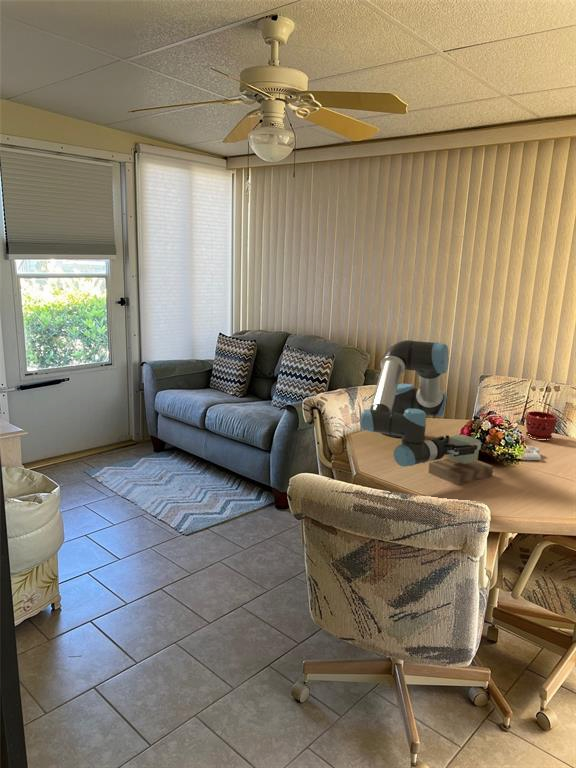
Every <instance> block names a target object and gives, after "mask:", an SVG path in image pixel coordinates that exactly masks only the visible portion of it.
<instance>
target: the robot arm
mask: <svg viewBox="0 0 576 768" xmlns="http://www.w3.org/2000/svg"><path fill="white" fill-rule="evenodd" d="M449 355H450V354H449V347H448V345H447V344H445V343H440V342H431V341H430V342H429V341H428V342H427V341H419V340H410V339H406V340H401V341H399V342H396V343H395V344H393V345H392V346H391V347H389V348H388V349H387V350H386V351H385V353H384V354H383V356H382V358H381V360H380V373H379V377H378V380H377V384H376V388H375V389H374V394H373V396H372V397H373V398H372V402H371V405H370V408H368V409H367V408H366V409H363V410H362V412H361V415H360V422H359V423H360V424H359V425H360V429H361V430H362V431H366V432H371V433H379V434H382V435H383V436H387V437H391V438H392V437H393V438H401V444H399V445H397V446H396V447H395V448H394V450H393V458H394V461H395V463H396V464H397V465H398V466H400V467H409V466H410V467H413V466H415V465H420V464H425V463H428V462H429V463H430V462H432V461H433V462H435V461H439V460H442V459H443V457H444V456H447V454H454V456H455V457H457V456H460V455H469V454H474V452H475V450H478V449H479V450H481V447H482V441H480V442H475V443H471V444H469V445H454V444H448V442H449V437H450V435H447V434H446V435H445V436H437V437H435V438H432V439H427V440H426V439H425V436H426V435H425V434H426V426H427V416H431V417H434V418H436V417H439V418H440V417H442V416H443V415H444V413H445V407H446V402H447V395H448V394H447V392H445V391H443V390H442V389H441V375H442V374H446V373H447V372H448V369H449V363H450V362H449V360H450V357H449ZM406 370H408V371H415V373H416V374H417V375H418V379H419V380H418V381H419V383H418V384H419V388H415V387H414V384H410V383H399V382H400V378H401V375H402V374H403V373H404V372H405V371H406ZM451 446H452V447H451ZM451 449H452V450H451Z"/></svg>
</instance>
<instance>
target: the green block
mask: <svg viewBox="0 0 576 768" xmlns="http://www.w3.org/2000/svg"><path fill="white" fill-rule="evenodd" d="M475 442H481V440H480V439H477V438H474V437H471V436H468V435H465V434H458V435H453V436H449V442H448V444H454V445H469V444H471V443H475ZM451 447H452V446H451ZM451 450H452V449H451ZM479 451H480V449H478V450H475V452H474V454H469V455H460V456H457V457H455V456H454V454H447V455H446V459H448V458H450V459H453V460H455V461H458V462H461V463H463V464H465V463H469V462H473V461H479V460H478V459H479V453H480V452H479Z"/></svg>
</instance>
